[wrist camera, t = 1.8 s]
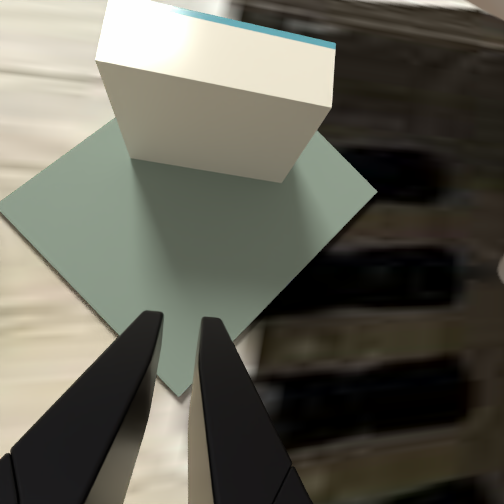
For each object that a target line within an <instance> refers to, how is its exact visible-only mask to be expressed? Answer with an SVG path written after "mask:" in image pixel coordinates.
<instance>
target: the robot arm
mask: <svg viewBox="0 0 504 504" xmlns="http://www.w3.org/2000/svg"><path fill="white" fill-rule="evenodd" d="M163 324H164V314H163V312H160V311H150V310H145V311H143V312H142V313H141V314H140V315H139V316H138V317H137V318H136V319H135V320H134V321H133V322H132V323H131V324H130V325H129V326H128V327H127V328H126V329H125V330H124V331H123V332H122V333H121V334H120V336H119V337H118V338H117V339H116V340H115V341H114V342H113V343H112V344H111V345H110V346H109V347H108V348H107V349H106V350H105V351H104V352H103V353H102V354H101V355H100V356H99V357H98V358H97V359H96V360H95V362H94V363H93V364H92V365H91V366H90V367H89V368H88V369H87V370H86V371H85V372H84V373H83V374H82V375H81V376H80V377H79V378H78V379H77V380H76V381H75V382H74V383H73V384H72V385H71V386H70V388H69V389H68V390H67V391H66V392H65V393H64V394H63V395H62V396H61V397H60V398H59V399H58V400H57V401H56V402H55V403H54V404H53V405H52V406H51V407H50V408H49V409H48V410H47V411H46V412H45V414H44V415H43V416H42V417H41V418H40V419H39V420H38V421H37V422H36V423H35V424H34V425H33V426H32V427H31V428H30V429H29V430H28V431H27V432H26V433H25V434H24V435H23V436H22V437H21V438H20V440H19V441H18V442H17V443H16V444H15V445H14V446H13V447H12V448H11V450H10V453H11V454H10V453H6V454H5V455H4V456H3V457H2V458H1V459H0V504H123V502H124V499H125V495H126V492H127V489H128V485H129V482H130V479H131V476H132V472H133V469H134V466H135V462H136V459H137V456H138V452H139V449H140V446H141V442H142V439H143V436H144V432H145V429H146V425H147V422H148V418H149V413H150V408H151V402H152V397H153V391H154V386H155V380H156V374H157V369H158V363H159V357H160V352H161V345H162V336H163ZM291 465H292V461H291V459H290V457H289V455H288V453H287V451H286V449H285V447H284V445H283V443H282V441H281V439H280V437H279V435H278V433H277V431H276V429H275V427H274V425H273V423H272V421H271V419H270V417H269V415H268V413H267V411H266V409H265V406H264V404H263V402H262V400H261V398H260V396H259V394H258V392H257V390H256V388H255V386H254V384H253V382H252V380H251V378H250V376H249V374H248V372H247V370H246V368H245V366H244V364H243V362H242V360H241V358H240V356H239V354H238V352H237V350H236V348H235V346H234V344H233V342H232V340H231V338H230V336H229V333H228V331H227V329H226V327H225V325H224V323H223V321H222V320H221V319H220V318H216V317H207V316H204V317H202V318H201V323H200V329H199V335H198V342H197V349H196V357H195V366H194V374H193V383H192V391H191V400H190V409H189V420H188V504H313V503H312V501H311V499H310V497H309V495H308V493H307V491H306V489H305V487H304V485H303V483H302V481H301V479H300V477H299V475H298V473H297V471H296V469H295V467H291ZM290 467H291V468H290Z"/></svg>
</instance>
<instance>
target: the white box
mask: <svg viewBox="0 0 504 504" xmlns="http://www.w3.org/2000/svg"><path fill="white" fill-rule="evenodd" d="M335 45H336V43H332V42H328V41H323V40H319V39H315V38H310V37H306V36H301V35H297V34H293V33H288V32H284V31H280V30H275V29H271V28H266V27H262V26H258V25H253V24H249V23H245V22H240V21H236V20H232V19H227V18H223V17H218V16H214V15H210V14H205V13H201V12H197V11H192V10H188V9H183V8H179V7H175V6H170V5H166V4H162V3H157V2H153V1H148V0H109V1H108V5H107V9H106V14H105V18H104V23H103V27H102V32H101V36H100V41H99V45H98V50H97V54H96V59H95V61H96V64H97V66H98V69H99V72H100V75H101V78H102V80H103V83H104V86H105V89H106V92H107V94H108V97H109V100H110V103H111V106H112V108H113V111H114V114H115V117H116V120H117V122H118V125H119V128H120V131H121V134H122V136H123V139H124V142H125V145H126V148H127V150H128V153H129V156H130V158H133V159H139V160H145V161H151V162H157V163H163V164H169V165H175V166H181V167H187V168H193V169H199V170H205V171H211V172H217V173H223V174H229V175H235V176H241V177H247V178H253V179H259V180H265V181H272V182H278V183H282V182H283V180H284V179H285V177H286V176H287V174H288V173H289V171H290V170H291V168H292V167H293V165H294V164H295V162H296V161H297V159H298V158H299V156H300V155H301V153H302V152H303V150H304V149H305V147H306V146H307V144H308V143H309V141H310V140H311V138H312V137H313V135H314V134H315V132H316V131H317V129H318V128H319V126H320V124H321V123H322V121H323V120H324V118H325V117H326V115H327V114H328V112H329V111H330V109H331V108H332V94H333V77H334V61H335Z"/></svg>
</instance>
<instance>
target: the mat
mask: <svg viewBox="0 0 504 504" xmlns="http://www.w3.org/2000/svg"><path fill="white" fill-rule="evenodd" d="M376 193H377V191H376V190H375V189H374V188H373V187H372V186H371V185H370V184H369V183H368V182H367V181H366V180H365V179H364V178H363V177H362V176H361V175H360V174H359V173H358V172H357V171H356V170H355V169H354V168H353V167H352V166H351V165H350V164H349V163H348V162H347V161H346V160H345V159H344V157H343V156H342V155H341V154H340V153H339V152H338V151H337V150H336V149H335V148H334V147H333V146H332V145H331V144H330V143H329V142H328V141H327V140H326V139H325V138H324V137H323V136H322V135H321V134H320V133H319V132H318V131H316V132H315V134H314V135H313V137H312V138H311V140H310V141H309V143H308V144H307V146H306V147H305V149H304V150H303V152H302V153H301V155H300V156H299V158H298V159H297V161H296V162H295V164H294V165H293V167H292V168H291V170H290V171H289V173H288V174H287V176H286V177H285V179H284V180H283V182H282V183H278V182H272V181H265V180H259V179H253V178H247V177H241V176H235V175H229V174H223V173H217V172H211V171H205V170H199V169H193V168H187V167H181V166H175V165H169V164H163V163H157V162H151V161H145V160H139V159H133V158H130V156H129V153H128V150H127V148H126V145H125V142H124V139H123V136H122V134H121V131H120V128H119V125H118V122H117V120H116V117H115V118H114V119H113V120H111V121H110V122H108V123H107V124H106V125H104V126H103V127H102V128H100V129H99V130H97V131H96V132H95V133H93V134H92V135H91V136H89V137H88V138H86V139H85V140H84V141H82V142H81V143H80V144H78V145H77V146H76V147H74V148H73V149H71V150H70V151H69V152H67V153H66V154H65V155H63V156H62V157H60V158H59V159H58V160H56V161H55V162H54V163H52V164H51V165H49V166H48V167H47V168H45V169H44V170H43V171H41V172H40V173H39V174H37V175H36V176H34V177H33V178H32V179H30V180H29V181H28V182H26V183H25V184H23V185H22V186H21V187H19V188H18V189H17V190H15V191H14V192H12V193H11V194H10V195H8V196H7V197H6V198H4V199H3V200H2V201H0V212H1V213H2V214H3V215H4V216H5V217H6V218H7V219H8V220H9V221H10V222H11V223H12V224H13V225H14V226H15V227H16V228H17V229H18V231H19V232H20V233H21V234H22V235H23V236H24V237H25V238H26V239H27V240H28V241H29V242H30V243H31V244H32V245H33V246H34V247H35V248H36V249H37V250H38V251H39V252H40V253H41V254H42V256H43V257H44V258H45V259H46V260H47V261H48V262H49V263H50V264H51V265H52V266H53V267H54V268H55V269H56V270H57V271H58V272H59V273H60V274H61V275H62V276H63V277H64V278H65V279H66V281H67V282H68V283H69V284H70V285H71V286H72V287H73V288H74V289H75V290H76V291H77V292H78V293H79V294H80V295H81V296H82V297H83V298H84V299H85V300H86V301H87V302H88V303H89V304H90V306H91V307H92V308H93V309H94V310H95V311H96V312H97V313H98V314H99V315H100V316H101V317H102V318H103V319H104V320H105V321H106V322H107V323H108V324H109V325H110V326H111V327H112V328H113V329H114V331H115V332H116V333H117V334H118V335H119V336H120V334H121V333H122V332H123V331H124V330H125V329H126V328H127V327H128V326H129V325H130V324H131V323H132V322H133V321H134V320H135V319H136V318H137V317H138V316H139V315H140V314H141V313H142V312H143V311H145V310H150V311H160V312H163V314H164V324H163V336H162V345H161V352H160V357H159V363H158V369H157V375H158V376H159V377H160V378H161V379H162V381H163V382H164V383H165V384H166V385H167V386H168V387H169V388H170V389H171V390H172V391H173V392H174V393H175V394H176V395H177V396H178V397H180V396H181V395H182V394H183V393H184V391H185V390H186V389H187V388H188V387H189V386H190V385H191V384H192V383H193V374H194V366H195V357H196V349H197V342H198V335H199V329H200V323H201V318H202V317H204V316H207V317H216V318H220V319H221V320H222V321H223V323H224V325H225V327H226V329H227V331H228V333H229V336H230V338H231V340H232V342H233V341H234V340H235V339H236V338H237V337H238V336H239V334H240V333H241V332H242V331H243V330H244V329H245V328H246V327H247V326H248V325H249V324H250V323H251V322H252V321H253V320H254V319H255V318H256V317H257V316H258V315H259V314H260V313H261V312H262V311H263V310H264V309H265V308H266V306H267V305H268V304H269V303H270V302H271V301H272V300H273V299H274V298H275V297H276V296H277V295H278V294H279V293H280V292H281V291H282V290H283V289H284V288H285V287H286V286H287V285H288V284H289V283H290V282H291V281H292V280H293V279H294V277H295V276H296V275H297V274H298V273H299V272H300V271H301V270H302V269H303V268H304V267H305V266H306V265H307V264H308V263H309V262H310V261H311V260H312V259H313V258H314V257H315V256H316V255H317V254H318V253H319V252H320V251H321V249H322V248H323V247H324V246H325V245H326V244H327V243H328V242H329V241H330V240H331V239H332V238H333V237H334V236H335V235H336V234H337V233H338V232H339V231H340V230H341V229H342V228H343V227H344V226H345V225H346V224H347V223H348V222H349V220H350V219H351V218H352V217H353V216H354V215H355V214H356V213H357V212H358V211H359V210H360V209H361V208H362V207H363V206H364V205H365V204H366V203H367V202H368V201H369V200H370V199H371V198H372V197H373V196H374V195H375V194H376Z"/></svg>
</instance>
